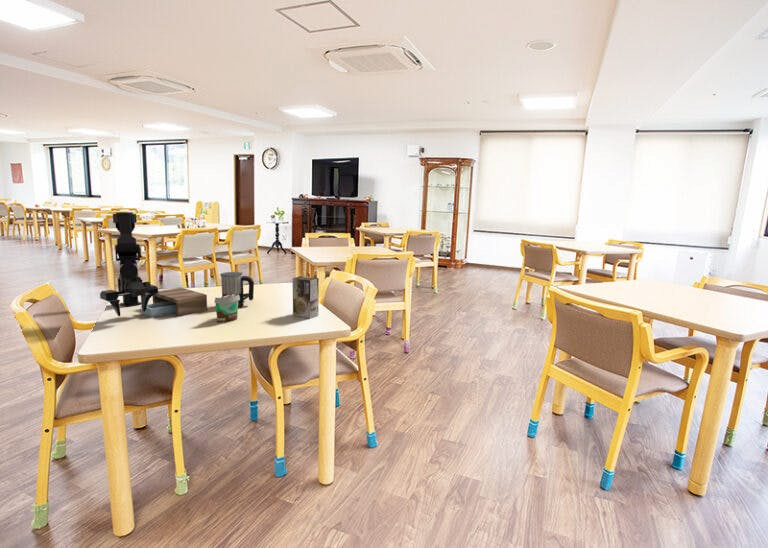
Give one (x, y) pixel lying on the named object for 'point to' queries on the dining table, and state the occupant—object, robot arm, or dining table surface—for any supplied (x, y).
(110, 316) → the dining table surface
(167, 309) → the blue-gray rectangular tray
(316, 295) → the coffee box
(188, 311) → the walnut overhang
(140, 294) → the robot arm
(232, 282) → the milk frother
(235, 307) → the food container
